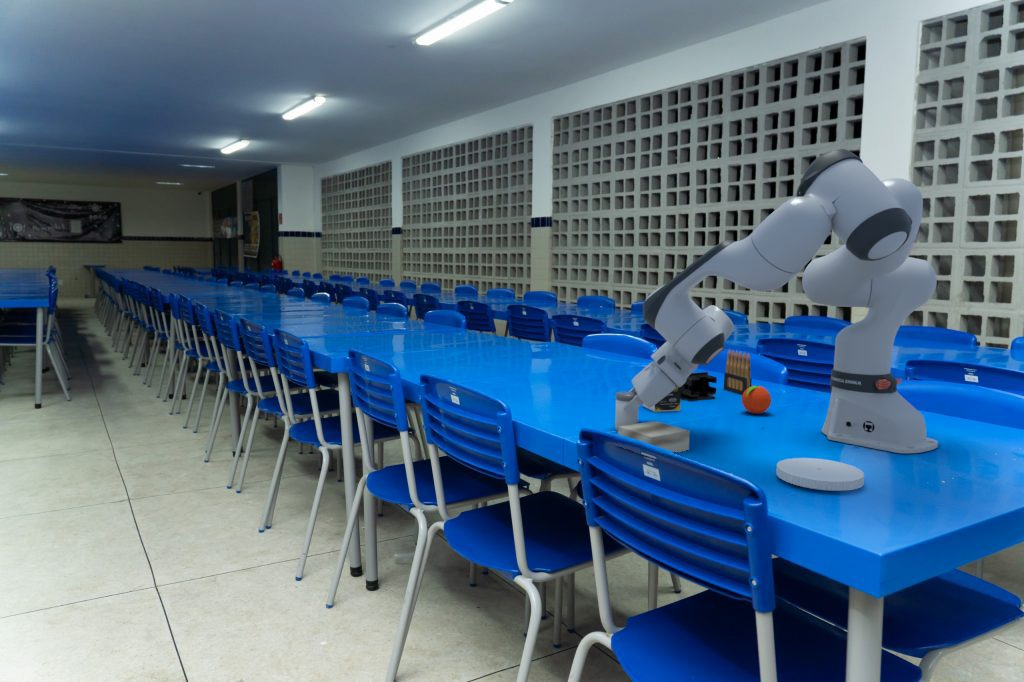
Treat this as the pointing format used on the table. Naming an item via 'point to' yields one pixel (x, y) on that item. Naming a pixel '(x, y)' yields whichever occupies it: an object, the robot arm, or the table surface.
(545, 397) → the table surface
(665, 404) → the medicine bottle
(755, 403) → the clementine
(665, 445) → the plinth
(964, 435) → the table surface
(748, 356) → the ammunition clip
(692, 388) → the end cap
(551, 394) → the table surface
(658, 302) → the robot arm
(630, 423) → the salt shaker
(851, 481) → the plastic lid
